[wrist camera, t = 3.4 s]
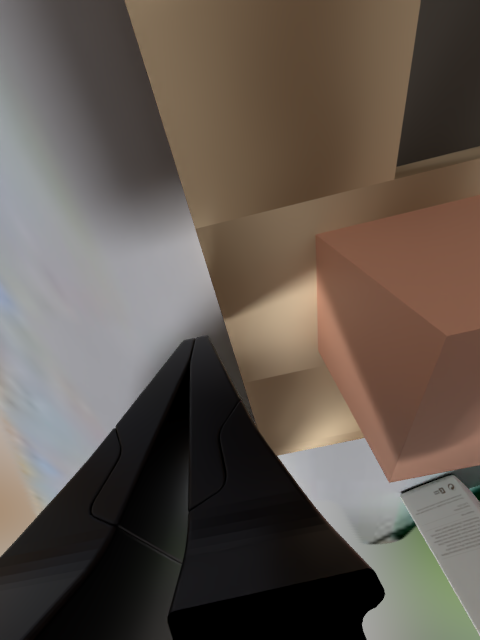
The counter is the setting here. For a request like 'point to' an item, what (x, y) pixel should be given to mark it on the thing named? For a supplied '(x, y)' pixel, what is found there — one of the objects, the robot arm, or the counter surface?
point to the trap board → (306, 159)
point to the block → (406, 334)
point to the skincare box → (451, 535)
